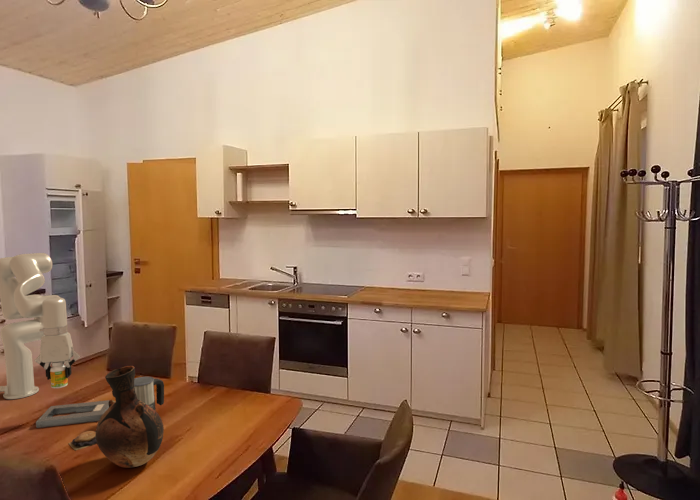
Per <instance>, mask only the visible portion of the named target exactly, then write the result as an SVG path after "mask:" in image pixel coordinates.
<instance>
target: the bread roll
mask: <svg viewBox="0 0 700 500" xmlns="http://www.w3.org/2000/svg"><path fill="white" fill-rule="evenodd" d="M94 445H97V442H96V430H95V431H94V430H87V431H84V432H81V433H80V434H78V435H77V436H76V437H75V438H74V439H72V441H70V442H68V446H70V447H71V449H73V450H74V451H78V450H82V449H85V448H89V447H92V446H94Z"/></svg>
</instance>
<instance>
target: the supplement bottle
mask: <svg viewBox="0 0 700 500" xmlns="http://www.w3.org/2000/svg"><path fill="white" fill-rule="evenodd" d="M51 367H52V368H51V369H50V377H51V379H50V387H51V388H52V389H61V388H65V387H67V386H68V384H69V383H68V382H69V380H68V379H69V378H66V377H65V368H66V365H65V362H64V361H60V362H51Z"/></svg>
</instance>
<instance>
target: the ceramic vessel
mask: <svg viewBox="0 0 700 500" xmlns="http://www.w3.org/2000/svg"><path fill="white" fill-rule="evenodd" d="M135 368H136V367H135V366H133V365H127V366H123V367H119V368H115V369H113V370H111V371H109V372H108V373H107V374H106V375H105V376H104V378H105V380H106V382H107V384H108V385H109V387H110V389H111V390H112V391H111V393H112V396H113V398H114V399H115V400H113V399H108V400H109V408H108V409H107V410H106V411H105V412H104V414H103V415H102V416H101V418H100V420H99V421H97V423H96V424H97V426H96V427H95V431H96V442H97V444H96V445H97V446H98V448H99V450H100V452H101V453H102V454H103V455H104V456H105V457H106V458H107V460H109V461H110V462H111V463H112V464H114V465H116V466H118V467H119V468H120V467H121V468H130V469H131V468H135V467H139V466H140V467H141V466H142V465H145V464H147V463H148V462H149V461H150V460H151V459H153V458H154V456H155V455H156V454H157V452H158V451H159V449H160V447H161V445H162V442H163V439H164V423H163V420H162V417H161V416H160V415H159V413H158V412H157V410H156V409H155V410H154V409H153V408H151V407H150V406H148V405H147V404H145V403H144V402H142V401H140V400H138V399H137V395H136V392H135V388H134V379H135V377H136V369H135Z"/></svg>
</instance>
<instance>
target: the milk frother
mask: <svg viewBox="0 0 700 500" xmlns="http://www.w3.org/2000/svg"><path fill="white" fill-rule="evenodd" d="M154 386H156V387H154ZM134 388H135V392H136V395H137V399H138V400H140V401H142V402H144V403H145V404H147V405H148V406H150V407H151V408H153V409H154V410H155V411H156V404H158V405H160V406H162V405H164V403H165V383H164V381H163V380H161V379H159V378H154V377H153V376H141V377H136V378H134ZM155 388H156V389H155ZM155 390H156V391H155ZM155 393H156V398H155Z"/></svg>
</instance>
